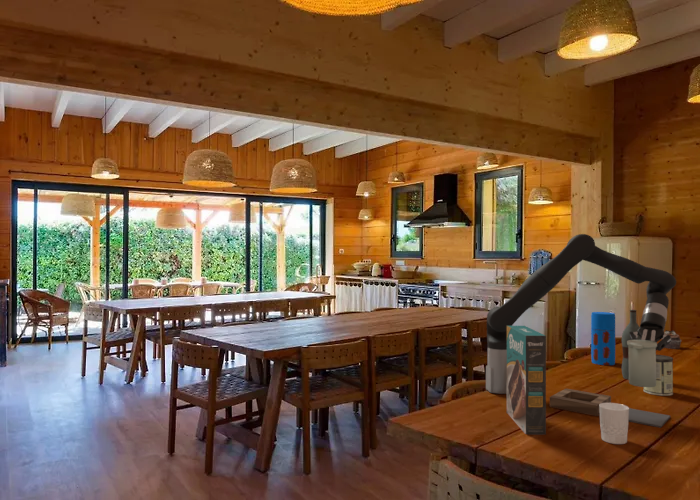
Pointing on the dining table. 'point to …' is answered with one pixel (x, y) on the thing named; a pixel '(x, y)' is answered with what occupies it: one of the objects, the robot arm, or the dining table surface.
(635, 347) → the jug
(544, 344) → the cake mix box
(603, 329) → the blue slotted cylinder
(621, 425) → the white cup
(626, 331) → the bottle
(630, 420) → the rubber mat
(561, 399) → the dark rimmed tray
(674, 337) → the cupcake
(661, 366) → the coffee can
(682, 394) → the dining table surface
